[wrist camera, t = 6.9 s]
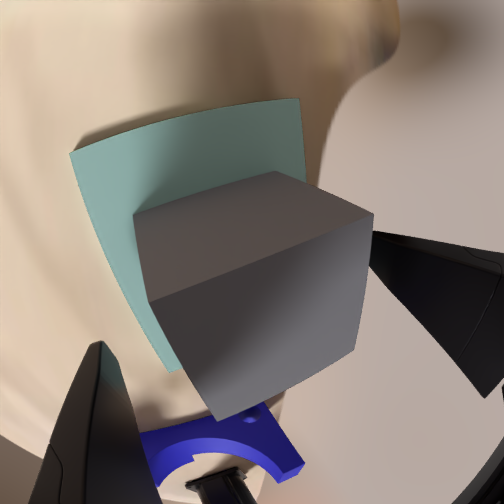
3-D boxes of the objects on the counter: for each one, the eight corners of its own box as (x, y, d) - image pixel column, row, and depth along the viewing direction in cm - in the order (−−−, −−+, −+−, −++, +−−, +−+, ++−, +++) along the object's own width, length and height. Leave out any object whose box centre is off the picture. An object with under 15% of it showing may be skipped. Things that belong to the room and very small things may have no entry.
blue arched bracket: (118, 459, 15) (138, 524, 10) (94, 437, 13) (113, 517, 8) (257, 422, 19) (294, 479, 15) (260, 396, 17) (305, 463, 12)
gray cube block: (286, 282, 12) (354, 349, 8) (177, 327, 11) (217, 421, 7) (275, 170, 9) (373, 213, 6) (132, 214, 8) (148, 302, 4)
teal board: (304, 305, 14) (310, 311, 14) (166, 365, 12) (169, 372, 11) (291, 98, 9) (299, 98, 8) (72, 151, 7) (69, 153, 6)
